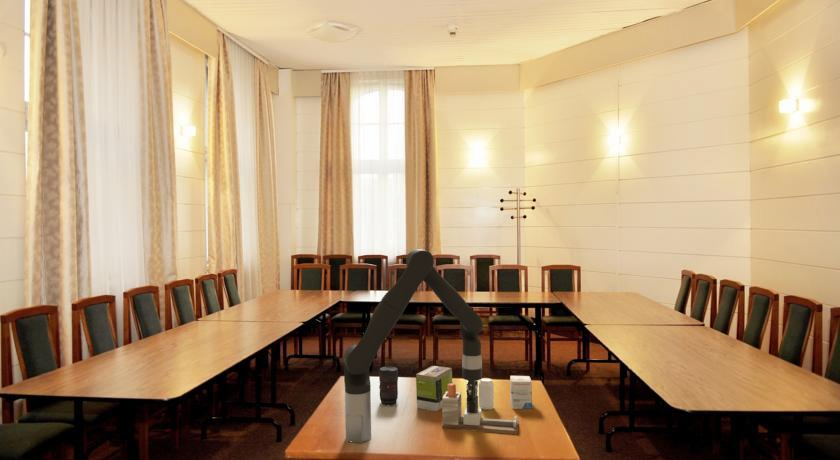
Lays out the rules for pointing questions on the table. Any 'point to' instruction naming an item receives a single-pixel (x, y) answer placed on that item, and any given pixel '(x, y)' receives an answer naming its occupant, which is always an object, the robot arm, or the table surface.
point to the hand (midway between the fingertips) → (472, 410)
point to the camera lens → (388, 385)
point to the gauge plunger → (451, 390)
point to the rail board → (455, 421)
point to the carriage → (472, 414)
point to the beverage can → (486, 394)
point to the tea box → (432, 387)
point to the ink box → (521, 392)
